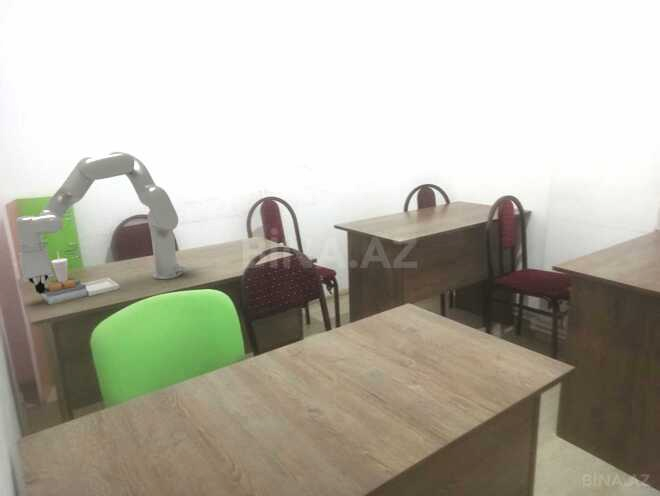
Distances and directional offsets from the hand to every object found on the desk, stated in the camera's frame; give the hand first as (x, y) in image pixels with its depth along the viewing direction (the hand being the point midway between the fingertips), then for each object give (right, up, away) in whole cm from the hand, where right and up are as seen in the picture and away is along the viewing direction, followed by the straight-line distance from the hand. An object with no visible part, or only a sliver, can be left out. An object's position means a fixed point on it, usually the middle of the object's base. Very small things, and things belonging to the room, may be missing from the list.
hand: (41, 292), depth 189 cm
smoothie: (-7, +3, +27) cm, 28 cm away
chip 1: (+4, 0, +4) cm, 5 cm away
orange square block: (+8, +1, +7) cm, 10 cm away
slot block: (+6, -2, +6) cm, 9 cm away
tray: (+16, 0, +15) cm, 22 cm away
